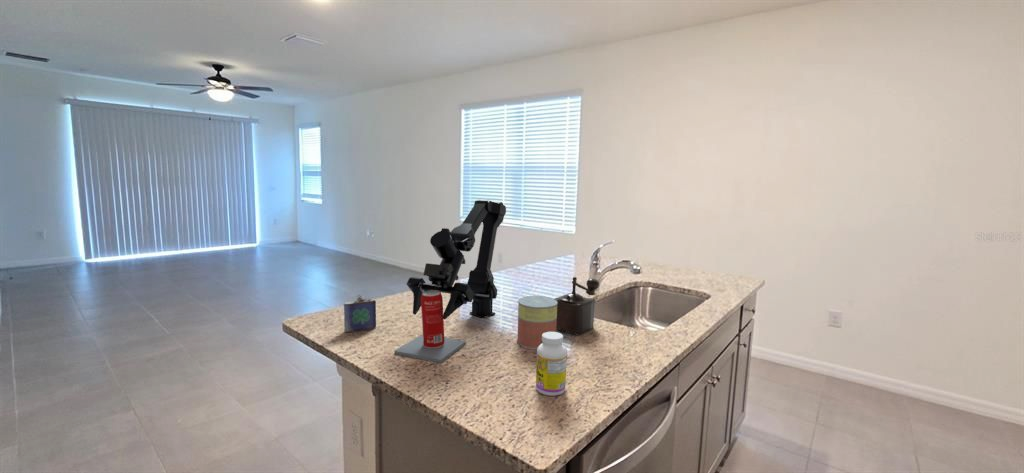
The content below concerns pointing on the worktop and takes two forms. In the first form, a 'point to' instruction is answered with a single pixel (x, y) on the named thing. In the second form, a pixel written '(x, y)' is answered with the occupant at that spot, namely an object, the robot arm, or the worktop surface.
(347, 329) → the flask
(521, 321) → the canned food
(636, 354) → the worktop surface
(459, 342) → the rubber mat
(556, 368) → the supplement bottle
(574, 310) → the pepper mill
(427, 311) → the beverage can
